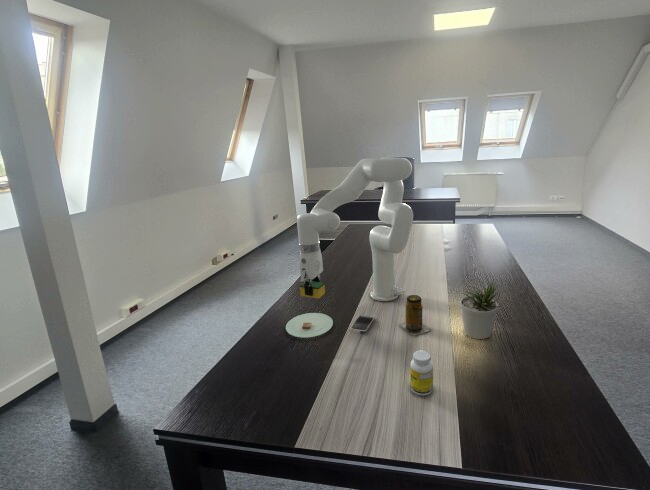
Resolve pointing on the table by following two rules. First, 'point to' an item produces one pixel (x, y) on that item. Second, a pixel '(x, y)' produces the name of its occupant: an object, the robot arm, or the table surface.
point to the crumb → (306, 326)
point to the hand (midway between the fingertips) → (312, 291)
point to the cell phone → (362, 323)
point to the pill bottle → (421, 373)
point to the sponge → (314, 289)
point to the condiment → (414, 316)
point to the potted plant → (479, 312)
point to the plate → (318, 325)
